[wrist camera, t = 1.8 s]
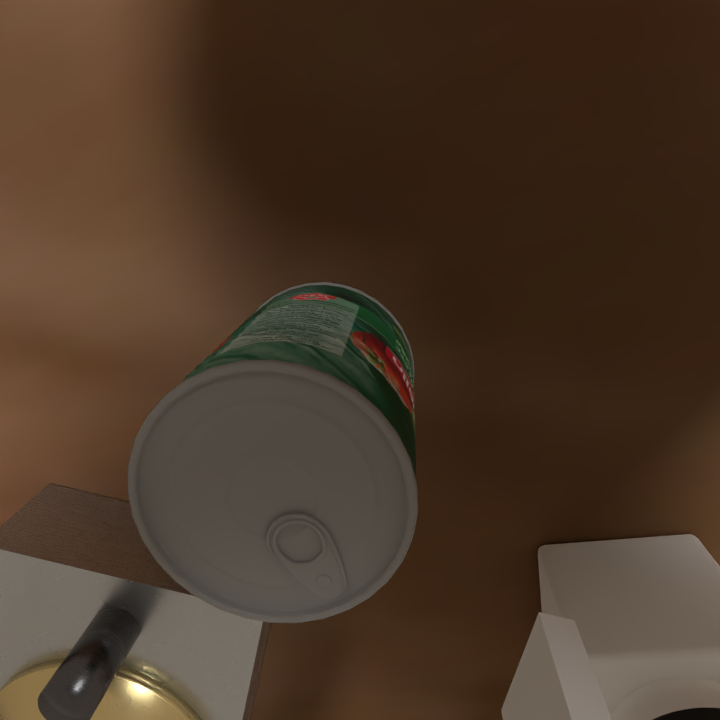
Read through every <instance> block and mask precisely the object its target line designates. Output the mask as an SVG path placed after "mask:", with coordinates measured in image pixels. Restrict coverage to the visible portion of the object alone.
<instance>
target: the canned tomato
mask: <svg viewBox="0 0 720 720" xmlns="http://www.w3.org/2000/svg"><path fill="white" fill-rule="evenodd" d="M128 496H129V501H130V506H131V511H132V516H133V518H134V521H135V523H136V526H137V528H138V531H139V533H140V535H141V538H142V540H143V541H144V543H145V545H146V546H147V548H148V549H149V551H150V552H151V554H152V555H153V557H154V558H155V560H156V561H157V562H158V564H159V565H160V566H161V567H162V568H163V569H164V570H165V571H166V572H167V573H168V574H169V575H170V576H171V577H172V578H173V580H174V581H176V582H177V583H178V584H180V585H181V586H182V587H184V588H185V589H186V590H187V591H189V592H190V593H191V594H193V595H194V596H195V597H197V598H199V599H201V600H203V601H204V602H206V603H208V604H210V605H212V606H214V607H216V608H218V609H219V610H222V611H225V612H228V613H231V614H234V615H237V616H240V617H243V618H247V619H252V620H258V621H264V622H269V623H301V622H307V621H314V620H320V619H325V618H327V617H330V616H333V615H336V614H339V613H342V612H345V611H348V610H349V609H351V608H353V607H355V606H356V605H358V604H360V603H362V602H363V601H365V600H367V599H369V598H370V597H371V596H372V595H373V594H374V593H376V592H377V591H378V590H379V589H380V588H381V587H382V586H384V585H385V584H386V583H387V582H388V581H389V580H390V578H391V577H392V576H393V574H394V573H395V571H396V570H397V569H398V567H399V566H400V565H401V563H402V562H403V560H404V558H405V555H406V553H407V551H408V549H409V546H410V544H411V542H412V540H413V536H414V531H415V525H416V520H417V515H418V492H417V483H416V451H415V410H414V359H413V355H412V350H411V346H410V343H409V341H408V339H407V337H406V334H405V332H404V330H403V328H402V326H401V325H400V324H399V322H398V321H397V320H396V318H395V317H394V316H393V314H392V313H391V312H390V311H389V310H388V309H387V308H386V307H384V306H383V305H382V304H381V303H380V302H379V301H378V300H376V299H375V298H373V297H371V296H370V295H368V294H366V293H364V292H363V291H361V290H358V289H355V288H352V287H350V286H347V285H343V284H336V283H330V282H315V283H306V284H301V285H297V286H293V287H290V288H288V289H286V290H284V291H282V292H280V293H277V294H275V295H274V296H272V297H271V298H270V299H269V300H267V301H266V302H265V303H263V304H262V305H261V306H260V307H259V308H258V309H257V310H256V312H255V313H254V314H253V315H251V316H250V318H249V319H247V320H246V321H245V322H244V323H243V324H242V325H241V326H240V327H239V328H238V329H237V330H236V331H234V332H233V334H232V335H230V336H229V337H228V338H227V339H226V340H225V341H224V342H223V343H222V344H221V345H220V346H219V347H218V348H217V349H215V350H214V351H213V352H212V354H211V355H209V356H208V357H207V358H206V359H205V360H204V361H203V362H202V363H201V364H200V365H198V366H197V367H196V369H195V370H194V371H193V372H191V373H190V374H189V375H188V376H187V377H186V378H185V379H184V380H183V382H182V383H181V384H179V385H178V386H177V387H175V388H174V389H173V390H171V391H170V392H169V393H167V394H166V395H165V396H164V397H163V398H162V399H161V400H160V401H159V403H158V404H157V405H156V406H155V407H154V409H153V410H152V411H151V412H150V413H149V415H148V416H147V417H146V419H145V421H144V423H143V425H142V427H141V429H140V431H139V433H138V434H137V436H136V438H135V440H134V444H133V448H132V452H131V456H130V460H129V464H128Z"/></svg>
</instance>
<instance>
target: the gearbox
mask: <svg viewBox="0 0 720 720" xmlns="http://www.w3.org/2000/svg"><path fill="white" fill-rule="evenodd" d="M270 624H271V623H269V622H264V621H258V620H252V619H247V618H243V617H240V616H237V615H234V614H231V613H228V612H225V611H222V610H219V609H218V608H216V607H214V606H212V605H210V604H208V603H206V602H204V601H203V600H201V599H199V598H197V597H195V596H194V595H193V594H191V593H190V592H189V591H187V590H186V589H185V588H184V587H182V586H181V585H180V584H178V583H177V582H176V581H174V580H173V578H172V577H171V576H170V575H169V574H168V573H167V572H166V571H165V570H164V569H163V568H162V567H161V566H160V565H159V564H158V562H157V561H156V560H155V558H154V557H153V555H152V554H151V552H150V551H149V549H148V548H147V546H146V545H145V543H144V541H143V540H142V538H141V535H140V533H139V531H138V528H137V526H136V523H135V521H134V518H133V516H132V511H131V506H130V502H125V501H121V500H117V499H113V498H109V497H105V496H100V495H96V494H92V493H88V492H84V491H79V490H75V489H71V488H67V487H63V486H59V485H54V484H49V485H48V486H47V487H45V488H44V489H43V490H42V491H41V492H40V493H39V494H37V495H36V496H35V497H34V498H33V499H32V500H30V501H29V502H28V503H27V504H26V505H25V506H24V507H22V508H21V509H20V510H19V511H18V512H17V513H16V514H14V515H13V516H12V517H11V518H10V519H9V520H8V521H6V522H5V523H4V524H3V525H2V526H1V527H0V720H250V717H251V713H252V708H253V703H254V699H255V694H256V689H257V685H258V680H259V675H260V671H261V666H262V661H263V657H264V652H265V647H266V643H267V638H268V633H269V629H270Z"/></svg>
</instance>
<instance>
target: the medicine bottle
mask: <svg viewBox="0 0 720 720" xmlns="http://www.w3.org/2000/svg"><path fill="white" fill-rule="evenodd" d="M538 565H539V580H540V594H541V609H542V613H545V614H549V615H554V616H558V617H562V618H566V619H571V620H574V621H575V624H576V626H577V629H578V631H579V634H580V637H581V639H582V642H583V645H584V647H585V650H586V653H587V655H588V658H589V661H590V663H591V666H592V668H593V671H594V674H595V676H596V679H597V682H598V684H599V687H600V690H601V692H602V695H603V698H604V700H605V703H606V705H607V708H608V711H609V713H610V716H611V719H612V720H720V566H719V565H718V564H717V562H716V561H715V560H714V558H713V557H712V556H711V555H710V553H709V552H708V551H707V549H706V548H705V547H704V546H703V544H702V543H701V542H700V540H699V539H698V538H697V537H695V536H694V535H692V534H683V535H670V536H656V537H643V538H630V539H617V540H603V541H590V542H577V543H564V544H550V545H543V546H541V547H540V548H539V549H538Z"/></svg>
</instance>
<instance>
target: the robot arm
mask: <svg viewBox="0 0 720 720" xmlns="http://www.w3.org/2000/svg"><path fill="white" fill-rule="evenodd" d="M501 711H502V717H503V720H612V719H611V716H610V713H609V711H608V708H607V705H606V703H605V700H604V698H603V695H602V692H601V690H600V687H599V684H598V682H597V679H596V676H595V674H594V671H593V668H592V666H591V663H590V661H589V658H588V655H587V653H586V650H585V647H584V645H583V642H582V639H581V637H580V634H579V631H578V629H577V626H576V624H575V621H574V620H571V619H566V618H562V617H558V616H554V615H549V614H545V613H541V612H539V613H538V616H537V618H536V621H535V623H534V626H533V629H532V631H531V634H530V636H529V639H528V642H527V644H526V647H525V649H524V652H523V655H522V657H521V660H520V662H519V665H518V668H517V670H516V673H515V675H514V678H513V681H512V683H511V686H510V688H509V691H508V693H507V696H506V699H505V701H504V704H503V706H502V709H501Z"/></svg>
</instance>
